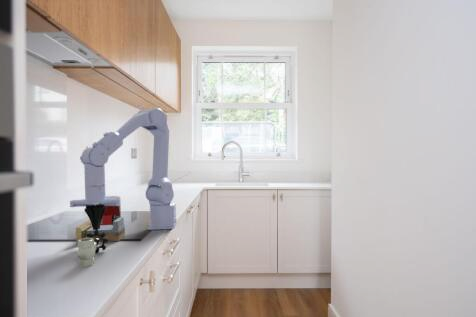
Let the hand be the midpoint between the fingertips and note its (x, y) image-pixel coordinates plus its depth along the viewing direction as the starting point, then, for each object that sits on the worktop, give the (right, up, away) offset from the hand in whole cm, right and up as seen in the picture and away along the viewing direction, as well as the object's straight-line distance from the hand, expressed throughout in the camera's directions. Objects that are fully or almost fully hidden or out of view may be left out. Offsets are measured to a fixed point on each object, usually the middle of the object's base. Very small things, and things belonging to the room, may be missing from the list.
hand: (96, 229), depth 95 cm
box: (+1, -4, +6) cm, 7 cm away
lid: (+1, -2, +5) cm, 6 cm away
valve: (+5, -5, -13) cm, 15 cm away
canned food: (-5, -4, +23) cm, 24 cm away
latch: (-6, -3, +6) cm, 9 cm away
